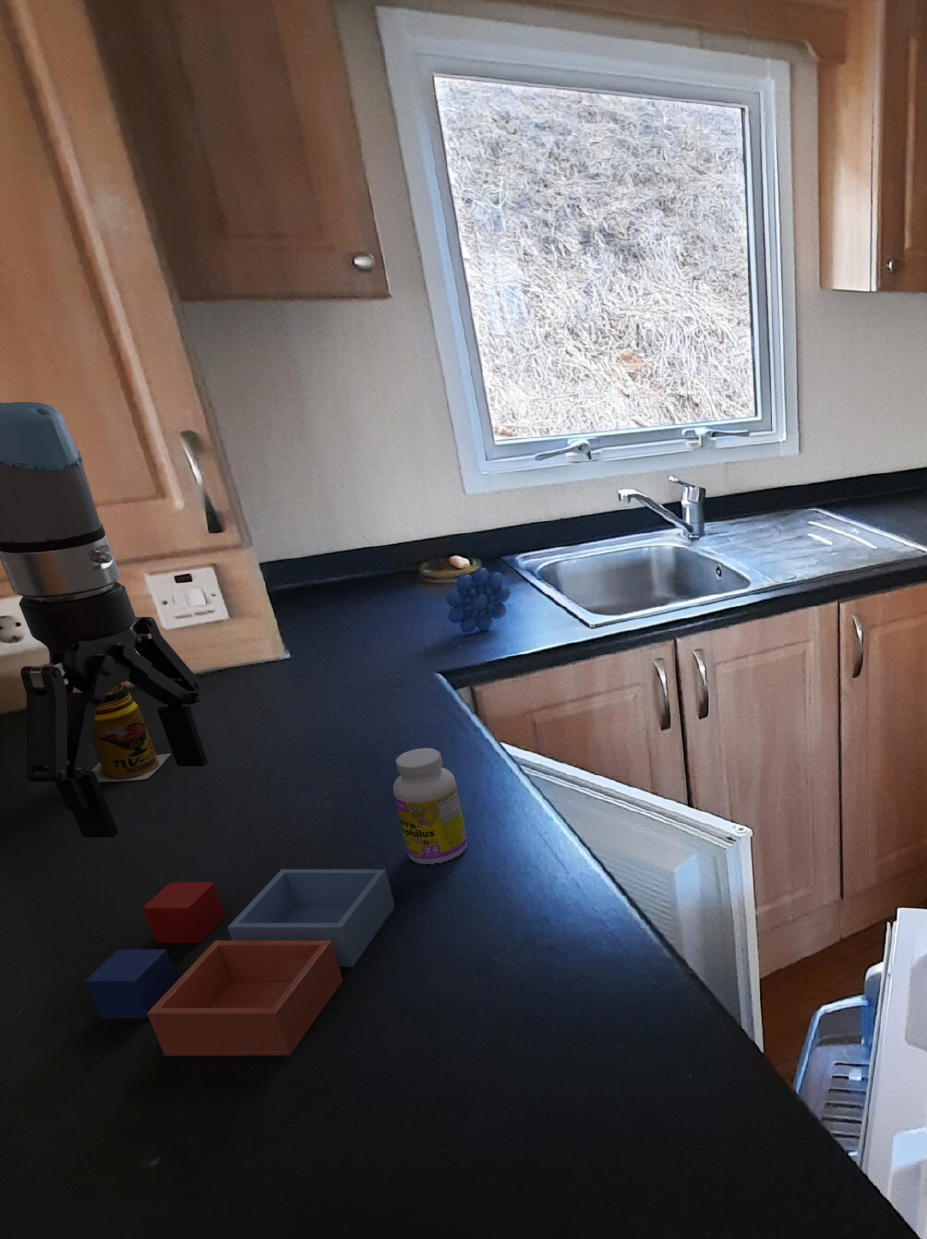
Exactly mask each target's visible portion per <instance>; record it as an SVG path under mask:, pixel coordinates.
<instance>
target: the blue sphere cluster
mask: <svg viewBox="0 0 927 1239" xmlns="http://www.w3.org/2000/svg"><path fill="white" fill-rule="evenodd" d="M504 580H505V578H504V576H503V574H502V573H500V572H499V571H498V572H497V571H496V572H492V573H491V574H490V572H489V570H488V569H487V568H486V567H477V568H476V569H475V570H474V571H473V572H472V576H471V575H470V574H462V575H460V576H458V578H457V580H456V584H455V586H456V588H457V589H453V590H450V591H449V593H448V594H447V595H446V596H447V597H446V603H447V604H448V606H450V607H452V608H450V609H449V611H448V614H447V615H448V616H447V617H448V620H449V621H450V622H451V623H453V624H458V623H459V628H460V629H461V632H464V633H471V632H473V631H474V630H475V629H476V628H477V629H478V630H480V631H481V632H482V631H488V630H489V629H490V628H491V627H492V626H493V623H494V620H499V619H502V618H503V617H504V616H505V615H506V613H507V612H506V611H507V608H506V605H505V604H504V603H506V602H507V601H508V600H509V599H510V597H511V591H510V589H509V587H508V586H506V585H503V584H504ZM493 619H494V620H493Z"/></svg>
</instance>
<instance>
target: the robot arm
mask: <svg viewBox="0 0 927 1239" xmlns="http://www.w3.org/2000/svg"><path fill="white" fill-rule="evenodd" d="M94 500H95V499H94V498H93V495H92V491H91V487H90V484H89V481H88V477H87V475H86V471H85V468H84V464H83V457H82V455H81V452H80V451H79V450H78V449H77V446H76V445H75V441H74V440H73V437H72V435H71V432H70V431H69V428H68V426H67V424H66V421H65V419H64V417H63V415H62V414H61V413H60V412H59V410H57V409H56V408H55V407H53V406H51V405H48V404H46V403H42V402H35V401H34V402H33V401H11V402H0V562H1V565H2V567H3V570H4V573H5V575H6V577H7V580H8V582H9V585H10V588H11V591H12V592H13V593H14V594H16V595H18V596H21V598H20V600H19V602H18V607H19V608H20V611H21V613H22V616H23V618H24V621H25V623H26V625H27V628H28V630H29V633H30V635H31V637H32V638H34V640H36V641H38V642H39V643H41V644H43V645H44V646H45V647H46V648H47V650H48V653H49V661H48V662H47V663H45V664H42V665H25V666H23V667H21V669H20V677H21V680H22V684H23V687H24V691H25V693H26V779H27V780H28V781H29V782H33V783H35V782H36V783H40V782H41V783H43V782H45V783H49V782H50V783H51V782H53V783H54V784H55V786H56V787H57V790H58V792H59V795H60V797H61V798H62V802H63V804H64V806H65V808H66V809H67V810H68V811H69V812H71V813H72V814H73V816H74V819H75V821H76V823H77V825H78V828H79V831H80V833H81V835H82V838H115V837H116V836H117V835H118V834H120V831H119V829H118V826H117V824H116V821H115V819H114V816H113V814H112V811H111V809H110V807H109V804H108V801H107V799H106V797H105V794H104V791H103V790H102V786H101V784H100V782H98V779H97V777H96V774H95V772H94V771H91V770H86V767H87V762H88V757H89V753H90V752H89V751H90V747H91V743H92V740H91V737H92V731H93V726H94V721H95V716H96V711H97V706H98V705H99V704H101V703H102V702H103V701H104V699H105V694H106V693H107V692H109V691H111V690H112V689H113V688H114V687H115V686H116V685H117V684H119V683H121V684H125V683H126V682H129V683H130V684H131V685H133V686H135V687H136V688H137V689H139V690H140V691H143V692H144V693H145V694H147V695H148V696H151V697H152V698H153V699H155V700H157V701H158V702H160V703H161V704H163V705H166V706H160V707H159V708H157V709H156V710H157V713H158V717H159V719H160V722H161V724H162V728H163V731H164V733H165V736H166V738H167V742H168V744H169V747H170V749H171V752H172V753H171V754H172V755H173V758H174V761H175V764H176V766H177V767H206V766H207V765H208V764H209V761H208V758H207V755H206V752H205V748H204V746H203V744H202V741H201V738H200V734H199V731H198V723H197V720H196V717H195V715H194V711H193V709H192V705H198V704H200V702H201V695H200V693H198V692H199V691H201V689H202V682H201V680H200V679H199V678H198V676H196V675H195V674H194V672H193V671H192V670H191V669H190V667H189V666H188V665H187V664H186V663H185V661H184V660H183V659H182V658H181V656H180V655H179V654H178V653H177V652H176V651H175V649H174V648H173V647H172V646H171V644H170V643H169V642H167V640H166V639H165V638H164V637H163V635H162V633H161V631H160V629H159V627H158V625H157V622H156V620H155V618H154V617H153V616H136V614H135V611H134V609H133V605H132V603H131V600H130V597H129V595H128V591H127V589H126V587H125V585H123V584H121V583H119V582H118V580H119V579H120V578H121V572H120V570H119V568H118V565H117V562H116V559H115V557H114V554H113V552H112V549H111V546H110V543H109V541H108V538H107V535H106V531H105V529H104V525H103V523H102V522H101V520H100V517H99V514H98V511H97V508H96V504H95V501H94ZM74 688H75V689H76V690H78V691H79V692H76V691H75V692H74ZM68 761H69V764H68Z"/></svg>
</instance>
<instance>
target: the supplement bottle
mask: <svg viewBox="0 0 927 1239" xmlns="http://www.w3.org/2000/svg"><path fill="white" fill-rule="evenodd" d="M395 764H396V770H397V772H398V773H399V775H398V777H397V778H396V779H395V780H394V783H393V785H392V793H393V798H394V802H395V805H396V808H397V809H396V810H397V814H398V819H399V823H400V828H401V832H402V836H403V840H404V845H405V849H406V852H407V855H408V858H409V859H410V860H411V861H412V862H414V863H417V864H419V865H420V864H421V865H426V864H431V865H436V864H435V863H439V864H443V863H442V862H444V863H446V862H445V861H447V862H449V861H448V860H450V861H452V860H454V859H456V858H458V857H460V856H461V855H462V854H463V853H464V852H465V850H466V849H467V847H468V836H467V830H466V826H465V821H464V817H463V811H462V807H461V802H460V798H459V793H458V787H457V782H456V778H455V776H454V774H453V773H452V772H451V771H450V770H449V769H447V768H445V767H443V760H442V755H441V752H440V751H439V750H437V749H435V748H430V747H421V748H414V749H411V750H408V751H405V752H403V753H401V754H400V755H399V756H398V757H396V759H395ZM455 857H456V858H455ZM453 858H454V859H453ZM451 859H452V860H451ZM439 864H438V865H439ZM431 865H430V866H431Z"/></svg>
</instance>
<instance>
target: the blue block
mask: <svg viewBox="0 0 927 1239" xmlns="http://www.w3.org/2000/svg"><path fill="white" fill-rule="evenodd" d="M178 980H179V977H178V975H177V973H176V970H175V968H174V966H173V963H172V960H171V958H170V955H169V953H168V950H167V949H118V950H117V951H115V952H113V954H112V955H111V956H110V957H109V958H108V959H106V960H105V961H104V962H103V963H102V964H101V965H100V966H99V967H98V968H97V969H96V970H95V971H94V972H93V973H92V974H91V975H89V976H88V978H86V979H85V980H84V983H85V985H86V987H87V989H88V992H89V994H90V996H91V998H92V1000H93V1002H94V1004H95V1007H96V1009H97V1011H98V1013H99V1015H100V1018H101V1019H149V1017H148V1015H147V1013H148V1012H149V1011H150V1009H151V1008H152V1007H153V1006H154V1005H155V1004H156V1003H157V1002H158V1001H159V1000H160V999H161V998H162V997H163V996H164V995H165V993H166V992H167V991H168V990H169V989H170V988H171V987H172V986H173V985H174V984H175V983H176V982H177V981H178Z"/></svg>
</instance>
